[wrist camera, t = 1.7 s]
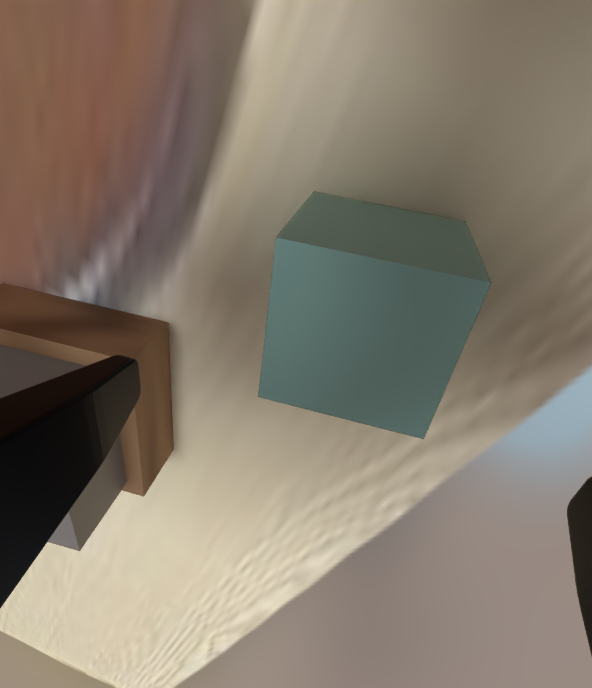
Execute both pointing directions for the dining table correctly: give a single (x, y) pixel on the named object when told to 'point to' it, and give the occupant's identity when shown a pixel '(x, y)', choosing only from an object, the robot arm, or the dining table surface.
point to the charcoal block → (30, 369)
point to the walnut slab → (95, 345)
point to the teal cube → (369, 311)
